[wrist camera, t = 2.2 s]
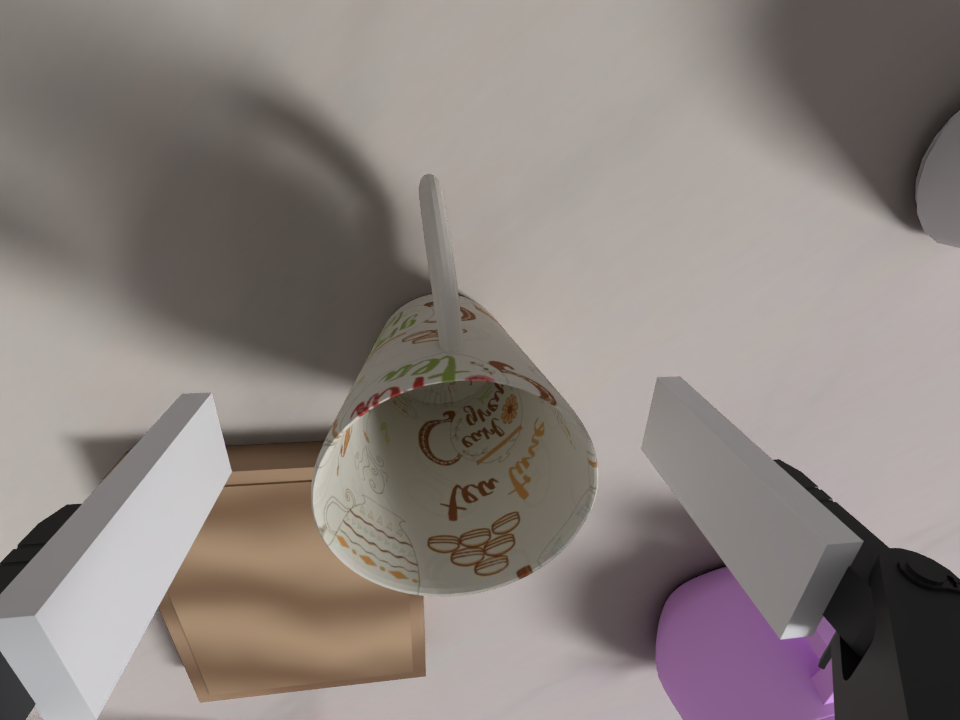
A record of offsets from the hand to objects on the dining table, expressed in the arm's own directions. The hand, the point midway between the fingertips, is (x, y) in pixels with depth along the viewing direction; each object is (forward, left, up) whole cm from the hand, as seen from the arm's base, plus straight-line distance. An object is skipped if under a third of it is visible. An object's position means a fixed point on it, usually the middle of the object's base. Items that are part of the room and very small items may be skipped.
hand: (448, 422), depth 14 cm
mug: (0, 0, -9) cm, 9 cm away
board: (+16, -8, -8) cm, 19 cm away
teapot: (+25, +22, -9) cm, 34 cm away
